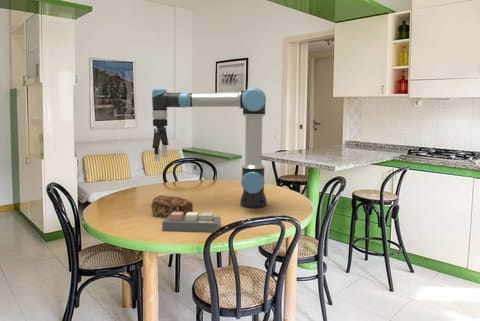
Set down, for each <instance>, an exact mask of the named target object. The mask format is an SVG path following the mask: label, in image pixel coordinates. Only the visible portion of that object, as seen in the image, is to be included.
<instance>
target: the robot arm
mask: <svg viewBox="0 0 480 321" xmlns="http://www.w3.org/2000/svg"><path fill="white" fill-rule="evenodd" d="M266 101H267V97H266V94H265V92H264V91H263V89H262V88H259V87H254V86H253V87H249V88H247V89H245V90H239V91H237V92H191V93H190V92H168V91H167V89H166V88H154V89H152V95H151V102H152V103H151V104H152V106H151V107H152V111H151V114H152V118H153V119H152V126H153V127H156V128H154V129H153V132H154V133H153V139H152V147H151V148H152V149H153V150H154V151H153V154H154V159H153V160H154V161H156V162H158V161H159V162H160V161H161V158H168V145H169V140H168V134H167V127H168V108H184V109H185V108H207V107H208V108H210V107H211V108H215V107H216V108H223V107H225V108H226V107H228V108H231V107H238V108H239V109H242V115H243V116H244V117H245V132H244V133H245V136H244V137H245V138H244V139H245V142H244V143H245V144H244V146H245V147H244V149H245V150H244V154H245V156H244V157H245V158H244V161H245V162H244V164H243V165H242V166H241V169H242V170H241V181H240V182H241V186H242V188H243V190H242V194H241V197H240V201H239V204H240V206H241V207H242V208H243V207H244V208H248V209H249V208H250V209H251V208H252V209H260V208H265V207H267V205H268V200H267V198H266V194H265V166H264V165H263V163H262V158H263V157H262V156H263V155H262V154H263V153H262V152H263V149H262V147H263V118H264V116H266V105H267V104H266ZM160 145H161V148H160ZM160 149H161V150H160ZM160 153H161V154H160Z"/></svg>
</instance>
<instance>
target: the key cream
mask: <svg viewBox="0 0 480 321" xmlns="http://www.w3.org/2000/svg"><path fill="white" fill-rule="evenodd" d="M185 216H186V221H198V219H199V218H198V216H199V211H198V212H196V211H193V212H188V213H187V214H186V215H185Z"/></svg>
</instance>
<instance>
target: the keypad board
mask: <svg viewBox="0 0 480 321" xmlns="http://www.w3.org/2000/svg"><path fill="white" fill-rule="evenodd" d="M198 218H199V219H198V221H186V216H184V219H183V220H182V221H170V215H168V217H167V218H165V219H164V220H163V221H162V222H161V226H162V232H163V231H164V232H190V233H193V232H194V233H195V232H197V233H215V232H214V231H215V230H217V229H219V230H220V227H221V225H222V224H221V222H222V221H221V216H213V221H207V222H206V221H201V215H198Z"/></svg>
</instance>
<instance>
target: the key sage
mask: <svg viewBox="0 0 480 321" xmlns="http://www.w3.org/2000/svg"><path fill="white" fill-rule="evenodd" d="M200 216H201V221H206V222H207V221H213V217H214V212H202V213H201V215H200Z"/></svg>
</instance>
